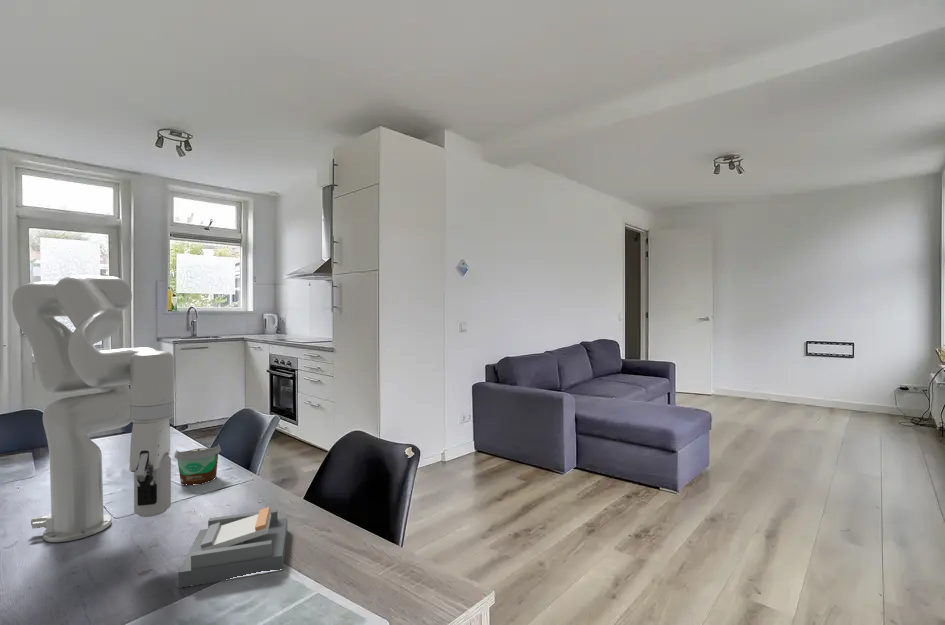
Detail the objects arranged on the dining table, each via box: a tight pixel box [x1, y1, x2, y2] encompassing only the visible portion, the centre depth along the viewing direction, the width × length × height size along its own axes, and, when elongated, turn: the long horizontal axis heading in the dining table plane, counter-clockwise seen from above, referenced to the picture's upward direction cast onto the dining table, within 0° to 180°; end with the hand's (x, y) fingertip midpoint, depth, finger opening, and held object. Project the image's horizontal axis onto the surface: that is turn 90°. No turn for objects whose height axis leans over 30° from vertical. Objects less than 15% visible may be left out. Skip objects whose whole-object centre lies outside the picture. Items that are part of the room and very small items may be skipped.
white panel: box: [201, 506, 271, 551], centre depth 101 cm, size 12×9×2 cm
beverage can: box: [133, 452, 172, 518], centre depth 100 cm, size 6×6×12 cm
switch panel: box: [177, 509, 288, 589], centre depth 101 cm, size 18×18×6 cm
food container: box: [173, 443, 222, 486], centre depth 144 cm, size 12×6×10 cm, turn 117°
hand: (152, 496), depth 100 cm, fingers closed on beverage can, 6 cm apart
